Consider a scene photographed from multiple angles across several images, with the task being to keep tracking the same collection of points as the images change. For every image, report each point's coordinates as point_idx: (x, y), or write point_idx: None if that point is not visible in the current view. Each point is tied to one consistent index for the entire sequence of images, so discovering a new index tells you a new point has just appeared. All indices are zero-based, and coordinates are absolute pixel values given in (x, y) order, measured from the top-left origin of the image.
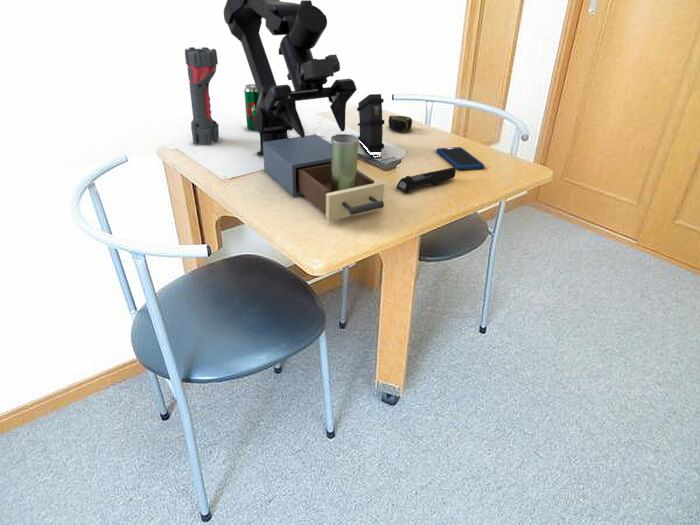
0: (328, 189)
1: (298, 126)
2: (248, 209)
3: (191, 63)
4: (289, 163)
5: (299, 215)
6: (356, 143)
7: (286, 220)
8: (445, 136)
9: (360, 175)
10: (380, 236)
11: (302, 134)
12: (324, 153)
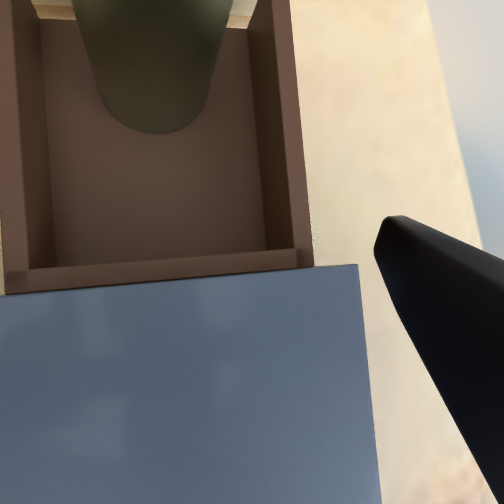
0: (171, 195)
1: (484, 254)
2: (456, 232)
3: None
4: (360, 298)
5: (323, 119)
6: None
7: (372, 106)
8: None
9: (17, 62)
10: None
11: (410, 221)
12: (106, 385)
